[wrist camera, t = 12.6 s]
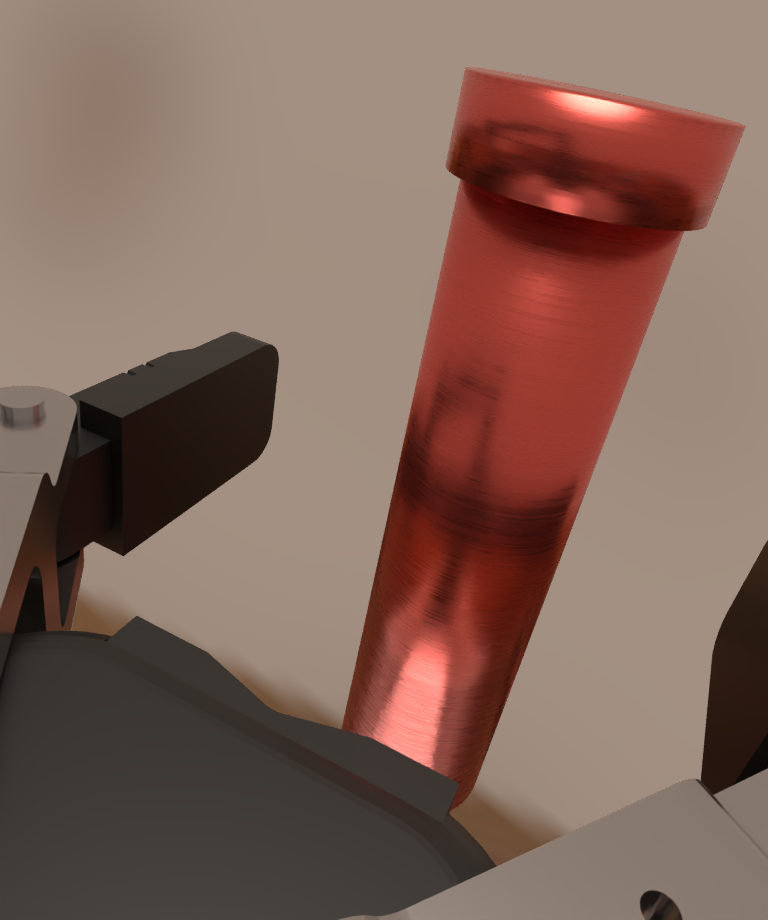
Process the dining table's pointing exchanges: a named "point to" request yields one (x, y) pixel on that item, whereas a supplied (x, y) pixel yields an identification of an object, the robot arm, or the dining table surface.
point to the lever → (518, 389)
